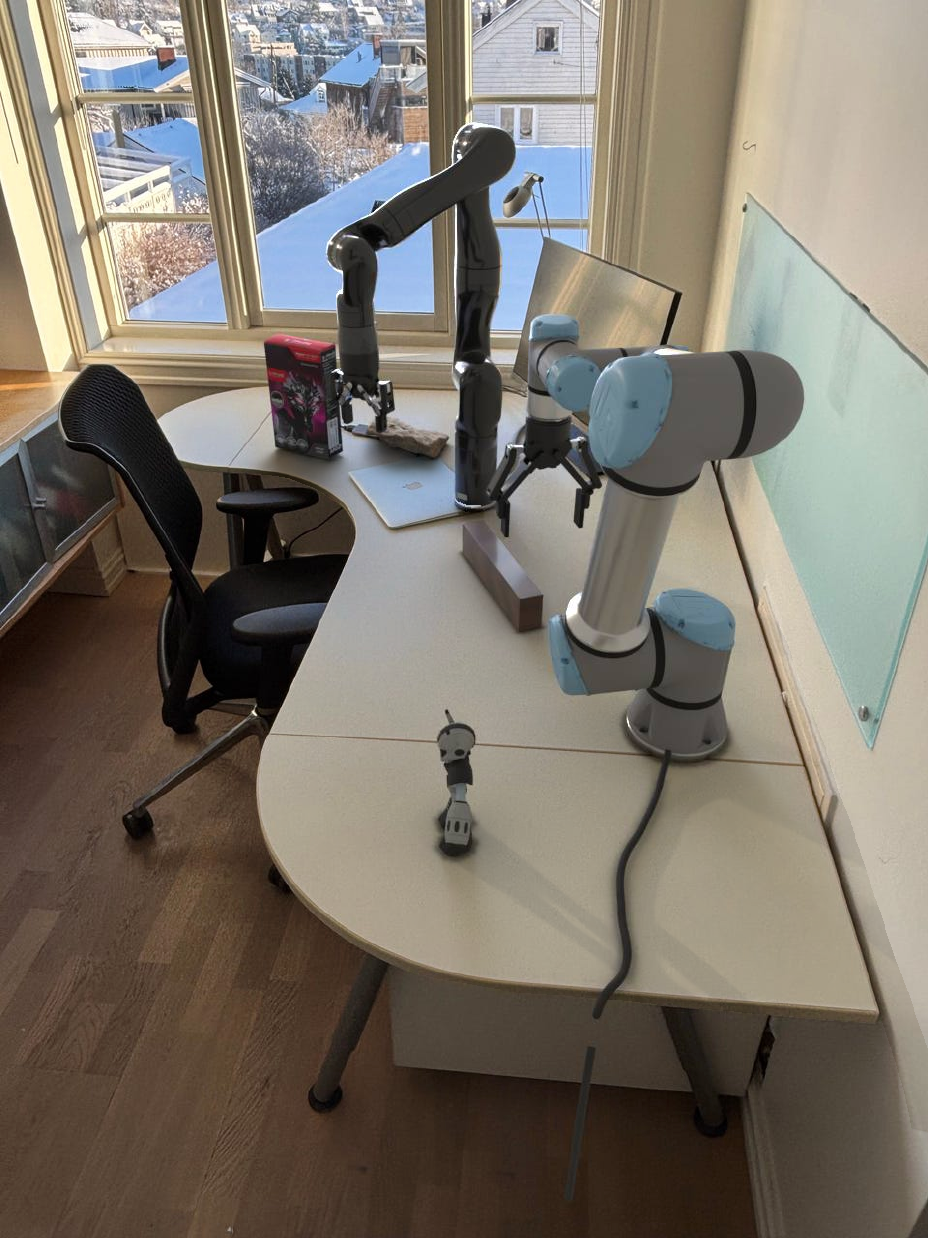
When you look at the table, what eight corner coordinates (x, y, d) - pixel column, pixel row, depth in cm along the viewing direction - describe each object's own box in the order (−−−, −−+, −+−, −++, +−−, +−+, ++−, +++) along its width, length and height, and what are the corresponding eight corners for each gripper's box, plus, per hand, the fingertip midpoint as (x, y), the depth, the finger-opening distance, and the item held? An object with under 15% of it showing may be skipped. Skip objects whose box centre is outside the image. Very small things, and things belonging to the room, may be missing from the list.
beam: (541, 627, 166) (543, 594, 163) (518, 632, 165) (520, 599, 161) (482, 549, 190) (483, 519, 186) (462, 553, 189) (462, 522, 185)
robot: (478, 890, 117) (481, 774, 106) (439, 891, 117) (438, 775, 106) (469, 781, 133) (471, 671, 122) (436, 782, 133) (434, 671, 122)
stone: (350, 440, 227) (354, 417, 225) (371, 432, 241) (376, 409, 239) (429, 465, 224) (434, 441, 222) (446, 455, 237) (452, 432, 235)
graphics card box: (273, 448, 231) (260, 339, 216) (289, 438, 236) (278, 332, 221) (329, 461, 225) (320, 351, 210) (345, 451, 230) (337, 342, 215)
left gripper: (400, 347, 173) (404, 428, 182) (343, 334, 180) (349, 413, 189) (374, 358, 168) (380, 441, 177) (317, 344, 175) (325, 425, 184)
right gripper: (611, 399, 156) (600, 511, 167) (468, 412, 150) (467, 527, 162) (629, 415, 150) (616, 530, 161) (481, 429, 144) (479, 548, 156)
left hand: (364, 427), depth 183 cm, fingers open, 8 cm apart
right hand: (541, 529), depth 162 cm, fingers open, 13 cm apart
